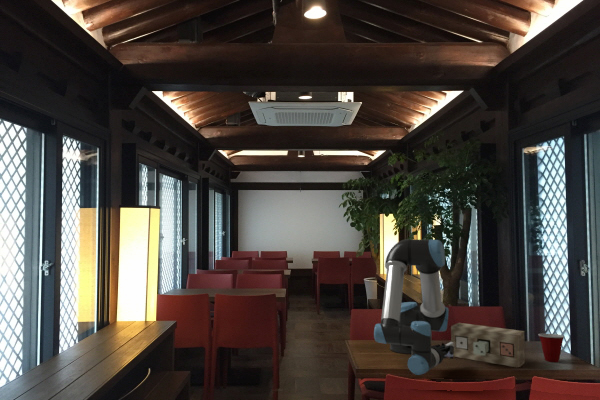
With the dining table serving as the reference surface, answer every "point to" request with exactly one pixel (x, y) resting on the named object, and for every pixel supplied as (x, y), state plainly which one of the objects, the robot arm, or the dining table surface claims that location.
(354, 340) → the dining table surface
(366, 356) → the dining table surface
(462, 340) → the button
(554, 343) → the plastic cup
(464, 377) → the dining table surface
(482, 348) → the button
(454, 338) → the console
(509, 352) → the button
